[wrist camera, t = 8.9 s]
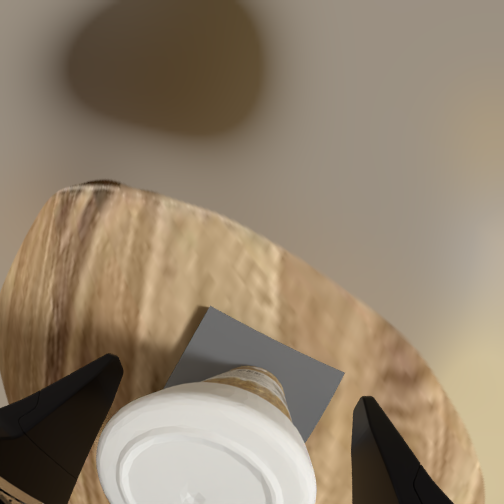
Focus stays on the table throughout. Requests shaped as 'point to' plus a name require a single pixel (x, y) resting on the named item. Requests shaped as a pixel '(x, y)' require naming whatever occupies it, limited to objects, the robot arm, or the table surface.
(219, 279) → the table surface
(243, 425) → the sprinkles bottle
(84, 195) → the table surface
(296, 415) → the slate tile
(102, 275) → the table surface
